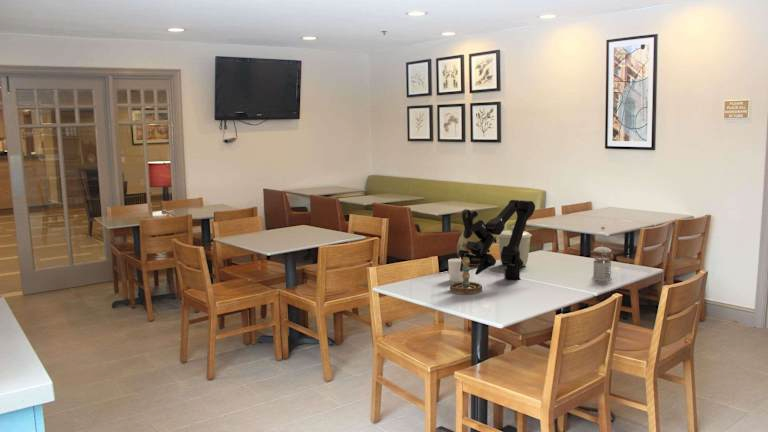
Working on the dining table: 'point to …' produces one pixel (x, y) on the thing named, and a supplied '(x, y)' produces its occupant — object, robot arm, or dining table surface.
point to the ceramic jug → (468, 234)
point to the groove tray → (473, 289)
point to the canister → (523, 247)
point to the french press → (602, 264)
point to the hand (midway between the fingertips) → (468, 272)
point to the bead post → (465, 273)
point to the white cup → (455, 270)
